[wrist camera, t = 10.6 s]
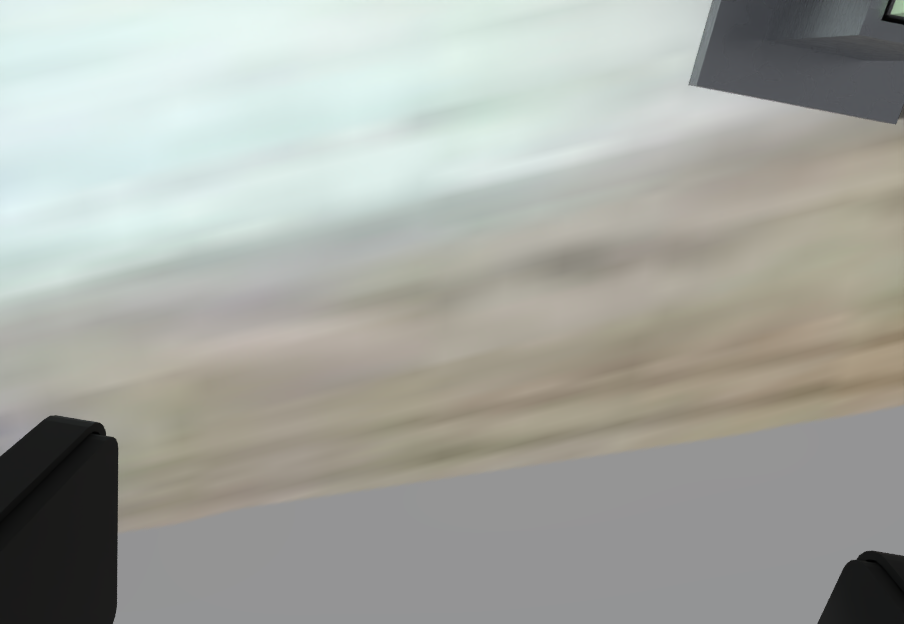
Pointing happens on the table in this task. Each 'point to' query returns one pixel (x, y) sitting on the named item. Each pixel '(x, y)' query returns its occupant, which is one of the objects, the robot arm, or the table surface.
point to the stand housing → (806, 55)
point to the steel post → (894, 12)
